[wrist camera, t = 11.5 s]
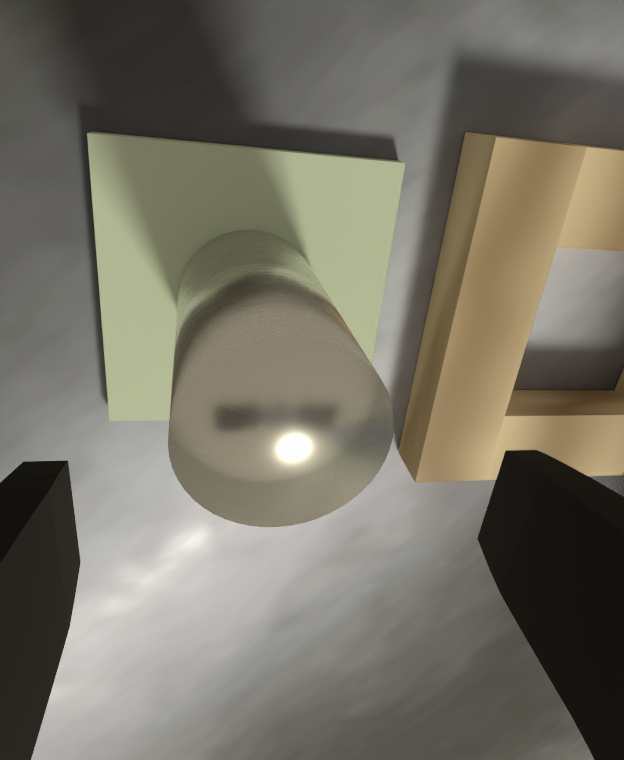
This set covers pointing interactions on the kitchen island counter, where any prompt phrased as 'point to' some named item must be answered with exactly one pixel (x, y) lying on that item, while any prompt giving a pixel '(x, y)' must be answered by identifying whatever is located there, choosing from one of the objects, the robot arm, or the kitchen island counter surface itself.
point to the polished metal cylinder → (270, 388)
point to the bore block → (511, 312)
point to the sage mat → (216, 217)
